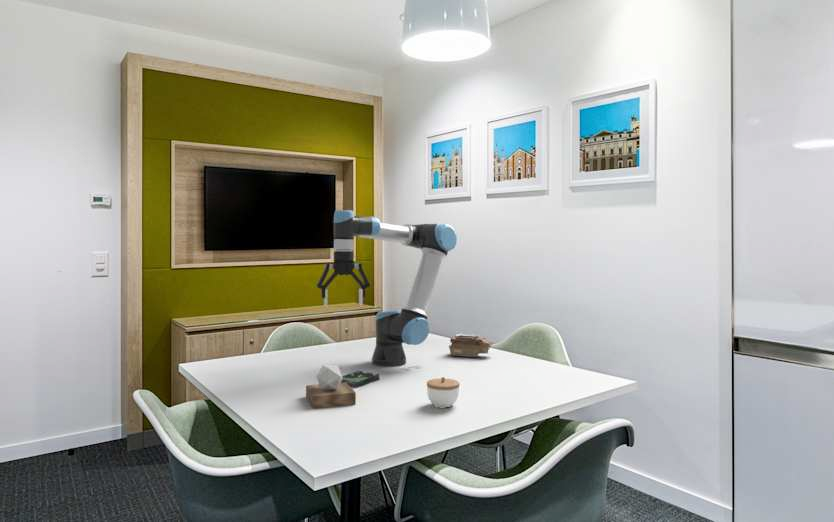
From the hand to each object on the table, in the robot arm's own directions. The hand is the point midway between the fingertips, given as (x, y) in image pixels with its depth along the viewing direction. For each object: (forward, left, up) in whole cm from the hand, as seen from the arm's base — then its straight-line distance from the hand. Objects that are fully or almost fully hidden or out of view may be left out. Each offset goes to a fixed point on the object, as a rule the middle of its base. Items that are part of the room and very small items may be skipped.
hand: (343, 306), depth 215 cm
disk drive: (-5, +4, -29) cm, 30 cm away
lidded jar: (-24, +42, -29) cm, 56 cm away
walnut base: (+10, +25, -29) cm, 39 cm away
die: (+10, +25, -25) cm, 37 cm away
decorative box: (-68, -27, -29) cm, 78 cm away
